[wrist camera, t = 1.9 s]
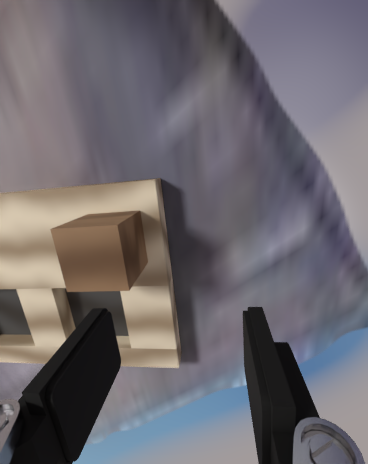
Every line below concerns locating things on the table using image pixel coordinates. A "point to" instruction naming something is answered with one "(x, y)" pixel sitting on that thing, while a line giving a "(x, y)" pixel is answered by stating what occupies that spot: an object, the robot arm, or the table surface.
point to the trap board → (81, 303)
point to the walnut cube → (101, 251)
